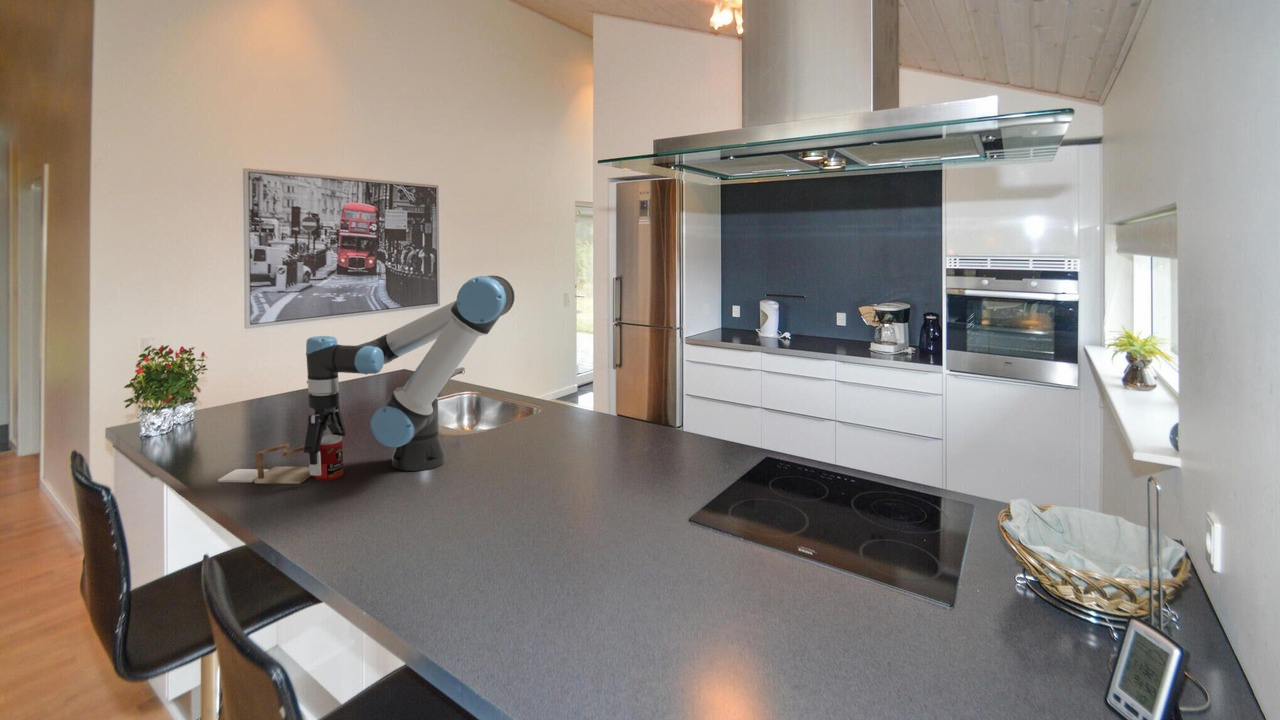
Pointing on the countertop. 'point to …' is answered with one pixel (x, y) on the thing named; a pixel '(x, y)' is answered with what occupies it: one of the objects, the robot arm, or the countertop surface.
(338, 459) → the canned food
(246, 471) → the coaster
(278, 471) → the wooden zigzag stand
